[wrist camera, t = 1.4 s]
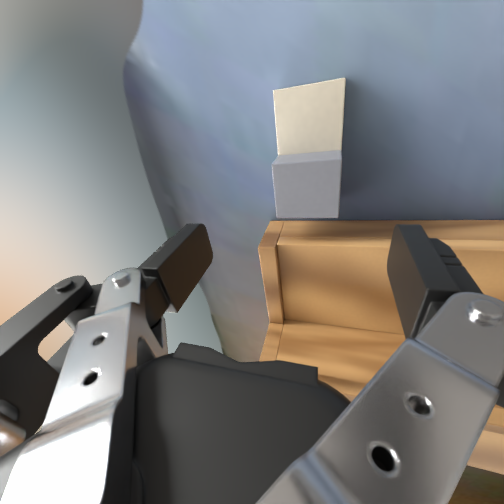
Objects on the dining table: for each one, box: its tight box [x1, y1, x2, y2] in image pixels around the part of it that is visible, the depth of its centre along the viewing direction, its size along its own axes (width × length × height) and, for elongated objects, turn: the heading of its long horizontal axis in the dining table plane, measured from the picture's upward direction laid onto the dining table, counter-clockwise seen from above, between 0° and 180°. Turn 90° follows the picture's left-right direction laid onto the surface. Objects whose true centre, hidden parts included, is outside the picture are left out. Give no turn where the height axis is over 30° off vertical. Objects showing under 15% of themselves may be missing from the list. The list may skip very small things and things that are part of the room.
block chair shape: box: [272, 78, 346, 218], centre depth 16 cm, size 8×4×4 cm, turn 9°
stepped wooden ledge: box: [258, 220, 504, 474], centre depth 19 cm, size 16×23×11 cm
